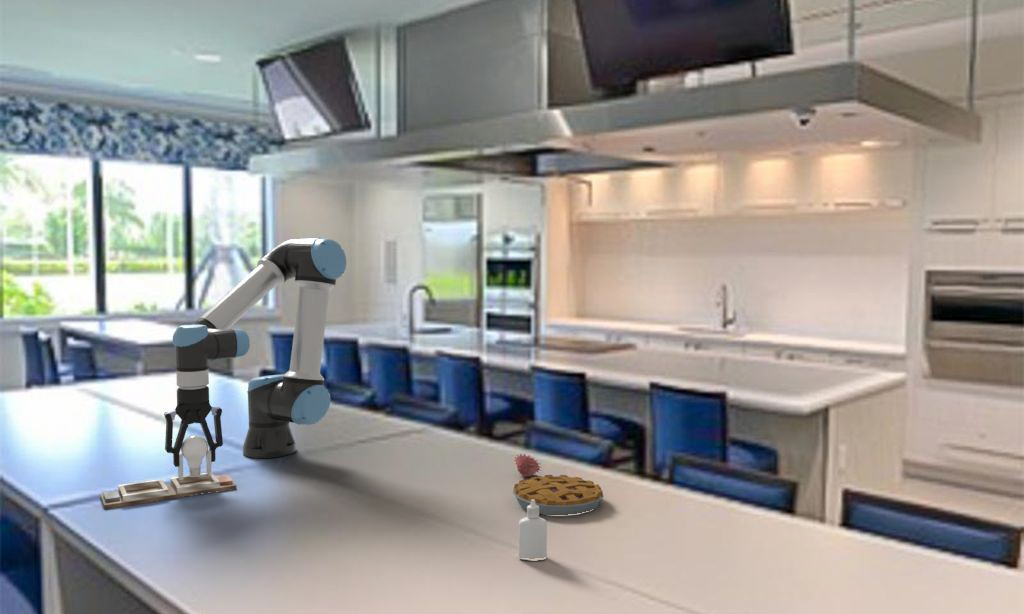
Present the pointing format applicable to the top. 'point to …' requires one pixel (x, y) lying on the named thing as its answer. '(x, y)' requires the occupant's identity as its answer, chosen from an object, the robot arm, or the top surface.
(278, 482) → the top surface
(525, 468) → the flower
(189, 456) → the lightbulb
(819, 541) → the top surface
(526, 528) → the eye dropper bottle
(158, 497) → the socket board
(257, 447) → the robot arm
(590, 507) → the pie
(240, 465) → the top surface
